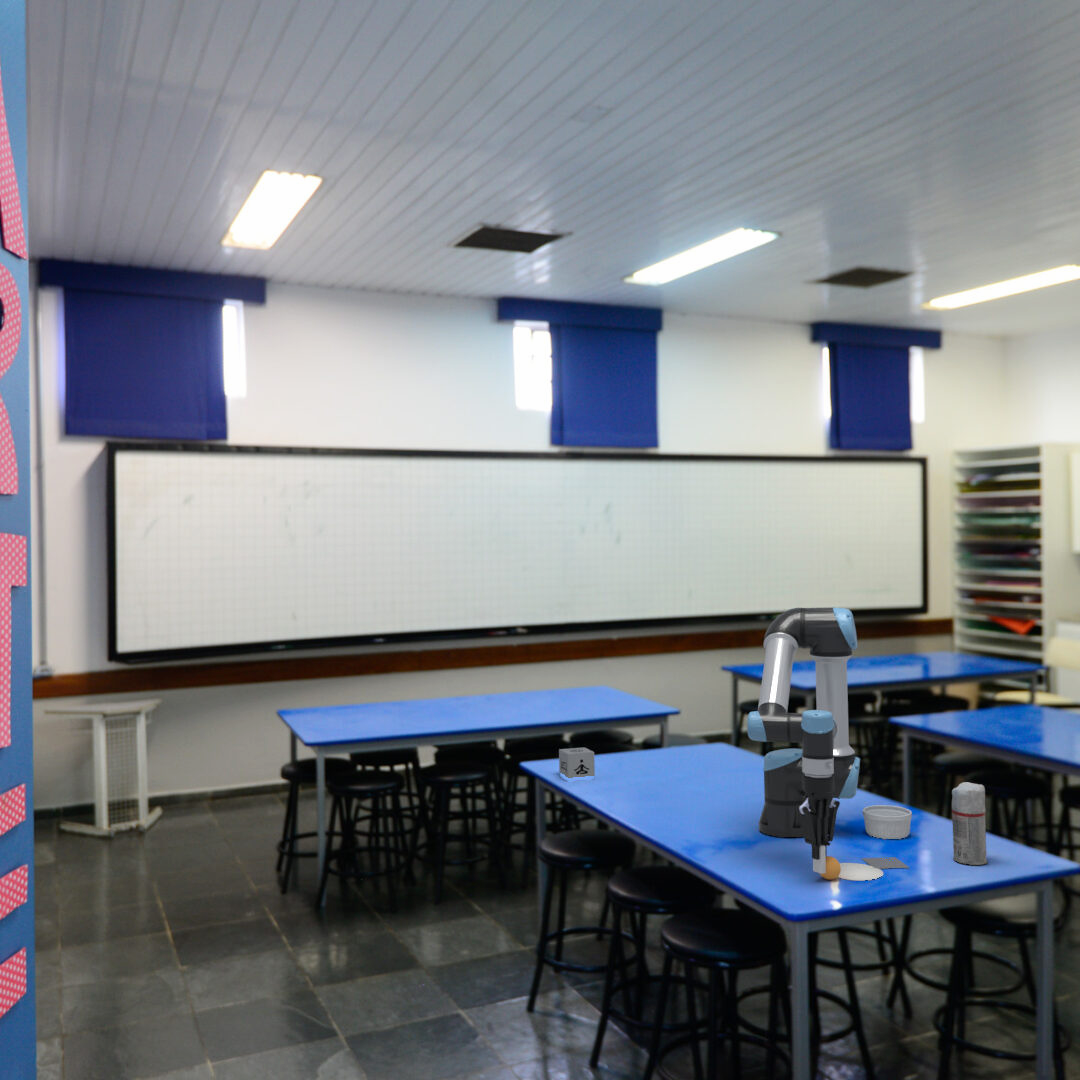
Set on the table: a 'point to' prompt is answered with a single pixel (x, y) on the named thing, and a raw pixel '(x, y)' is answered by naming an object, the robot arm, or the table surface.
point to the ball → (831, 868)
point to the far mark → (885, 863)
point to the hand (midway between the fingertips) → (819, 871)
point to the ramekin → (887, 821)
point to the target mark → (859, 872)
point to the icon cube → (576, 762)
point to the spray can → (969, 824)
